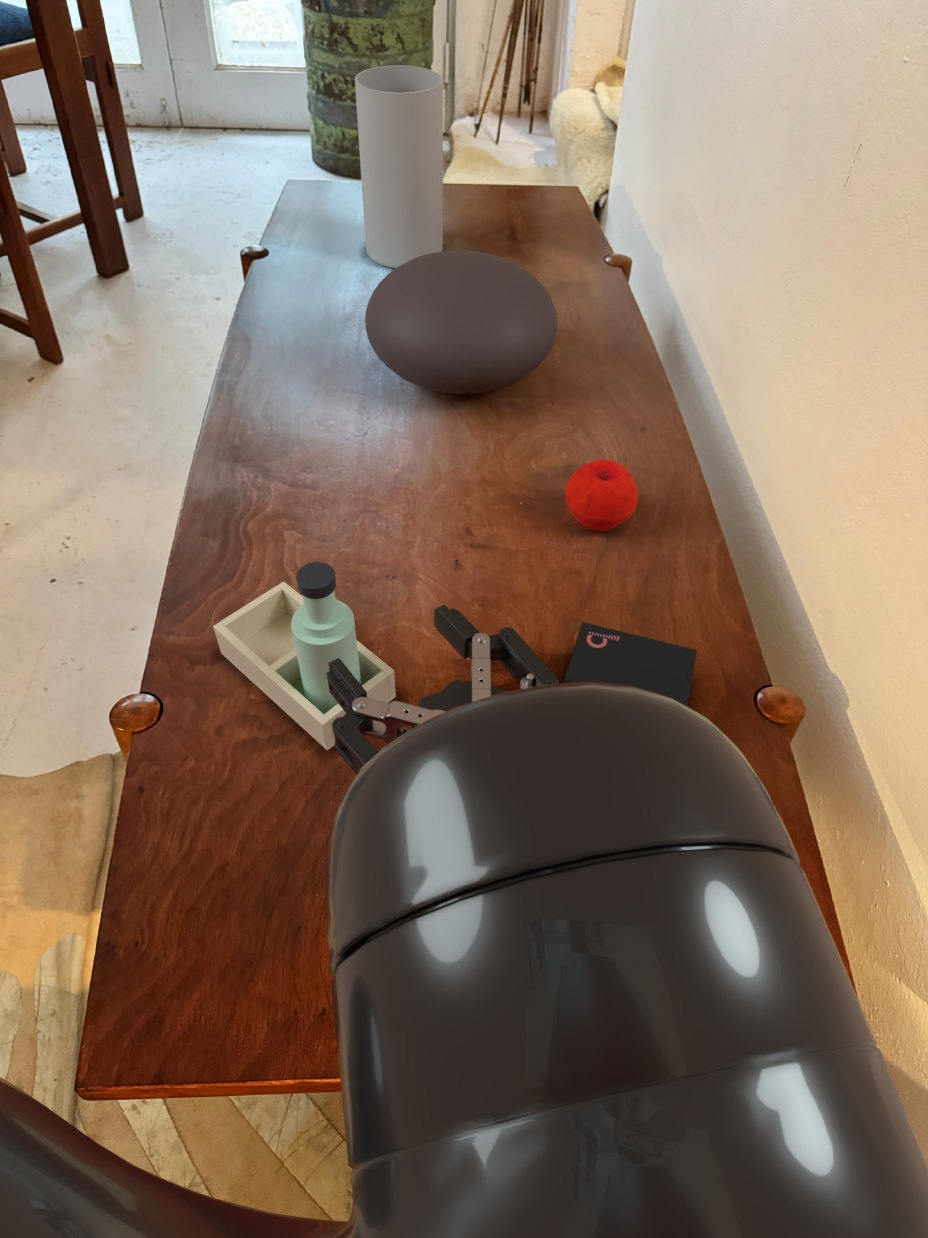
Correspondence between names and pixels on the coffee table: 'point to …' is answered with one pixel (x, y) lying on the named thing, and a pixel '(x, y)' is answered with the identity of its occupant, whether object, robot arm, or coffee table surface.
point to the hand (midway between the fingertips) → (387, 640)
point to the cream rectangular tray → (289, 660)
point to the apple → (601, 495)
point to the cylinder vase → (401, 161)
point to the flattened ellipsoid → (461, 322)
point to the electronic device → (631, 662)
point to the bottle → (322, 633)
